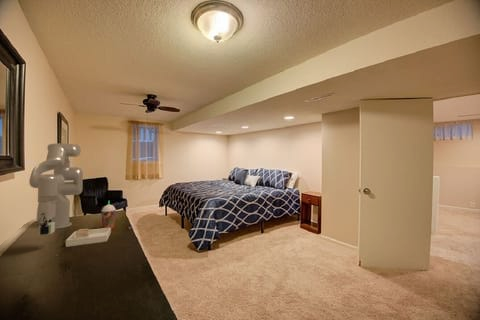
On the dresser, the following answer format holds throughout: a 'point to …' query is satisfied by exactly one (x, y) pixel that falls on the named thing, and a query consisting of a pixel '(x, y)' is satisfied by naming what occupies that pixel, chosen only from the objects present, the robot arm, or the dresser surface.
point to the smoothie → (108, 216)
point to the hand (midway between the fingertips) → (46, 231)
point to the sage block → (51, 228)
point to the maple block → (82, 233)
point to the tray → (89, 237)
